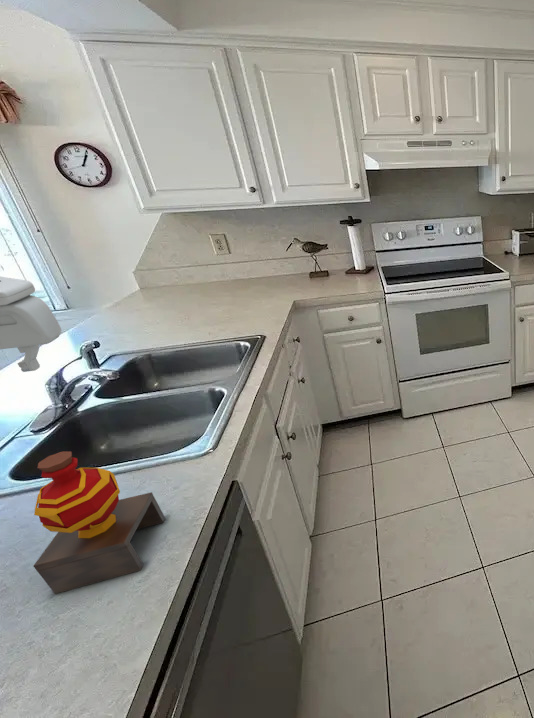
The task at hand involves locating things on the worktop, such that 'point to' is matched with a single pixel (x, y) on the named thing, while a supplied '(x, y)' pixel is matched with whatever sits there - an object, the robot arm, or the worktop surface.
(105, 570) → the shelf
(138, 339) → the worktop surface
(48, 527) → the potion bottle
